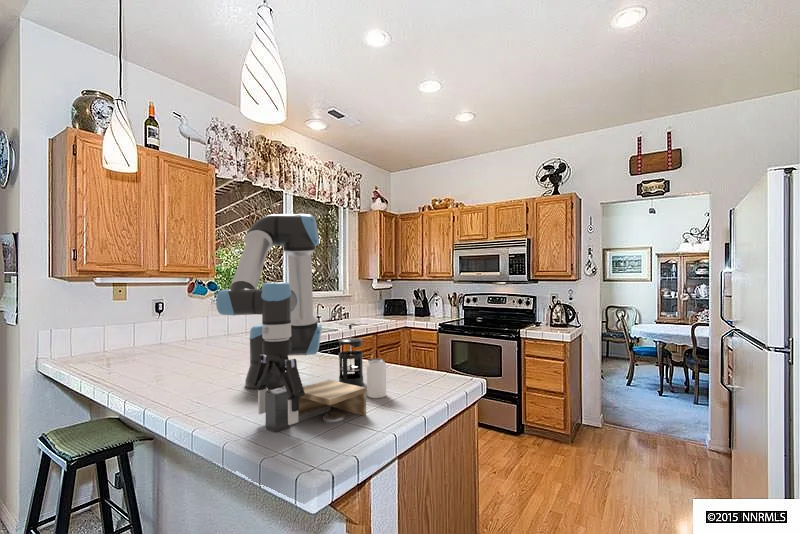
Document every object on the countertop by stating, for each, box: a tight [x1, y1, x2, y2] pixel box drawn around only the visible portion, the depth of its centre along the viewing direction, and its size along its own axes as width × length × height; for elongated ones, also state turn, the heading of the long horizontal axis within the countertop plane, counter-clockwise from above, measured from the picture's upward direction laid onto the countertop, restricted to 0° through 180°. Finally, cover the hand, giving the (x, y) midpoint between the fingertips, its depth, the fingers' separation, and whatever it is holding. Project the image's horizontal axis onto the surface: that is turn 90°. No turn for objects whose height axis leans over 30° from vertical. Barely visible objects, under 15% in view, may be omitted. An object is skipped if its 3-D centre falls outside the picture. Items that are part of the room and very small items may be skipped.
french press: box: [338, 322, 365, 387], centre depth 152 cm, size 12×9×23 cm
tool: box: [265, 387, 332, 434], centre depth 116 cm, size 4×20×10 cm, turn 142°
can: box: [366, 358, 387, 399], centre depth 137 cm, size 6×6×12 cm
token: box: [322, 411, 346, 424], centre depth 115 cm, size 6×6×1 cm
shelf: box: [293, 379, 367, 417], centre depth 118 cm, size 16×14×8 cm
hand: (277, 417), depth 109 cm, fingers open, 13 cm apart
